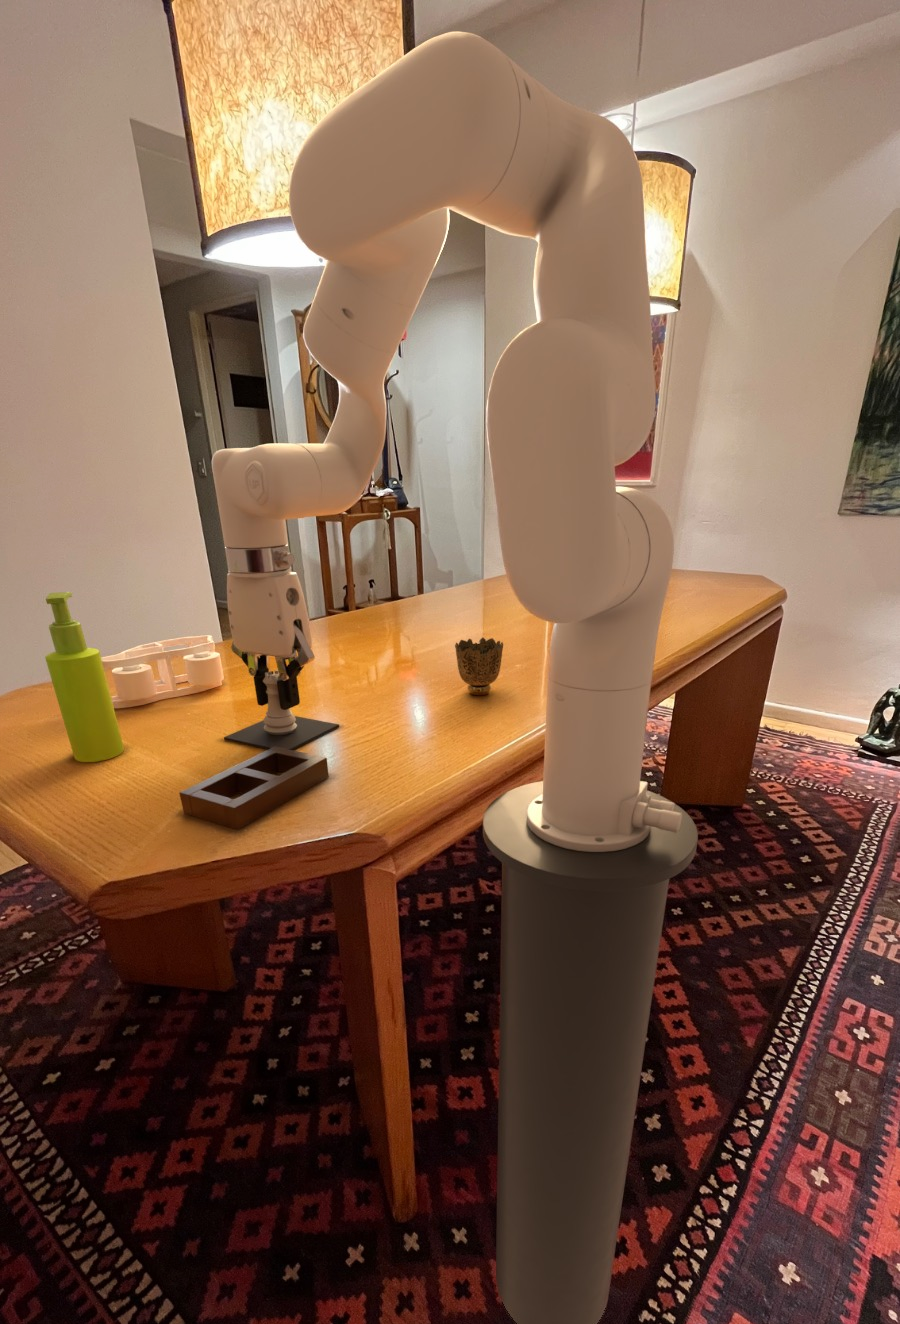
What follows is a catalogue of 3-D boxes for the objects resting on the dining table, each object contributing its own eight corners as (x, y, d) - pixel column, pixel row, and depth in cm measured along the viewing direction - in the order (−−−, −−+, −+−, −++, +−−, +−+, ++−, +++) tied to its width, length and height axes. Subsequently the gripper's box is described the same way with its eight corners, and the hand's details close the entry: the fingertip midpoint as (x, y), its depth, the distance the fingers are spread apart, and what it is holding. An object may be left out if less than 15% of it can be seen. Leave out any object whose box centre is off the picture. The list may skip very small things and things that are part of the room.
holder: (329, 777, 79) (326, 757, 78) (238, 830, 68) (234, 808, 67) (277, 765, 83) (274, 746, 82) (183, 813, 71) (178, 792, 70)
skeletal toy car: (116, 715, 101) (104, 667, 98) (94, 698, 109) (83, 653, 105) (240, 687, 113) (233, 643, 109) (213, 674, 120) (206, 633, 117)
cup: (458, 701, 104) (457, 649, 100) (453, 687, 110) (452, 638, 107) (505, 699, 104) (506, 647, 101) (499, 685, 111) (499, 636, 107)
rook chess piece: (289, 721, 95) (283, 666, 92) (302, 731, 92) (297, 674, 88) (258, 728, 93) (251, 671, 89) (271, 738, 90) (265, 680, 86)
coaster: (339, 727, 94) (339, 724, 94) (286, 753, 86) (285, 750, 86) (280, 715, 99) (279, 713, 99) (224, 740, 91) (223, 737, 91)
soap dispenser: (126, 740, 92) (88, 587, 83) (122, 758, 86) (80, 596, 77) (79, 746, 90) (35, 591, 81) (71, 765, 84) (22, 600, 75)
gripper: (331, 560, 82) (345, 705, 90) (232, 555, 89) (253, 689, 97) (289, 568, 76) (308, 722, 84) (188, 562, 83) (214, 704, 92)
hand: (278, 703), depth 91 cm, fingers closed on rook chess piece, 3 cm apart
